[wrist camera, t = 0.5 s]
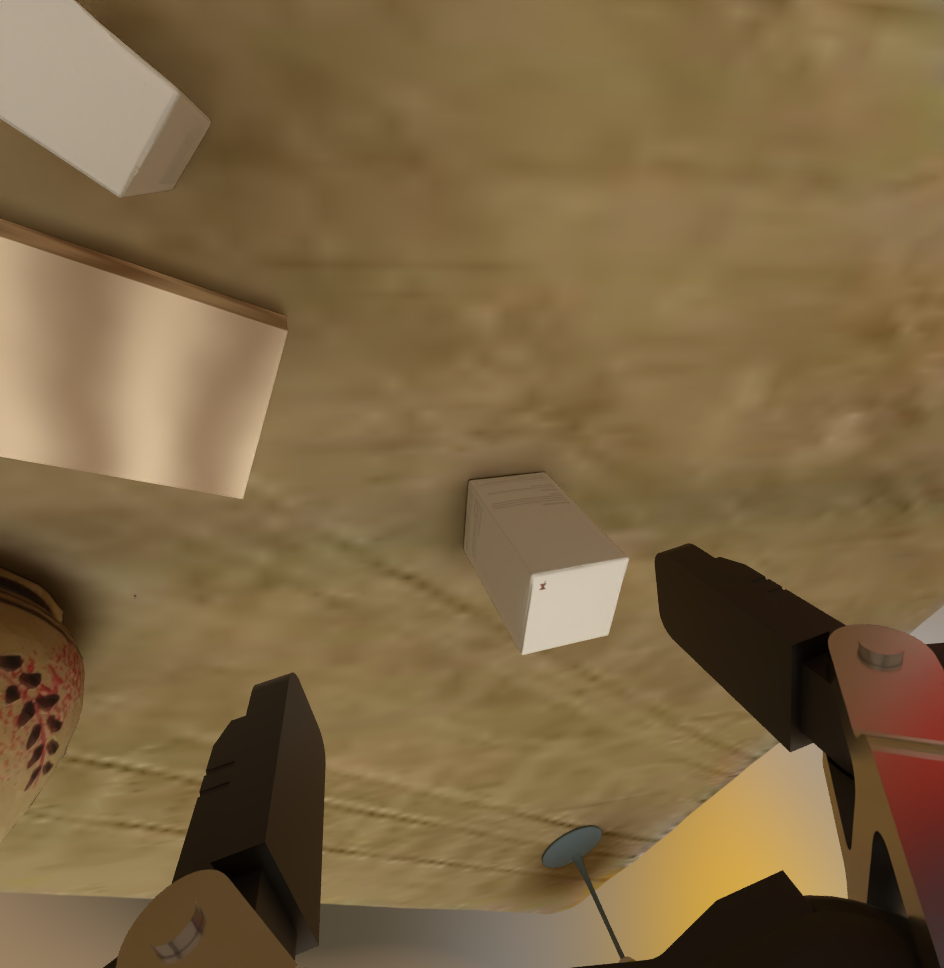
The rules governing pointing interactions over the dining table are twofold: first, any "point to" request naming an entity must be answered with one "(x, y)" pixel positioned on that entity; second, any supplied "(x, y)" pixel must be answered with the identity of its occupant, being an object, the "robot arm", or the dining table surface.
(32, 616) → the ceramic jug
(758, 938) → the robot arm
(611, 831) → the dining table surface
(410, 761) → the dining table surface
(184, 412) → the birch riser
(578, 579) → the supplement box
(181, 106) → the skincare box
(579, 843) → the cocktail glass
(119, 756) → the dining table surface
